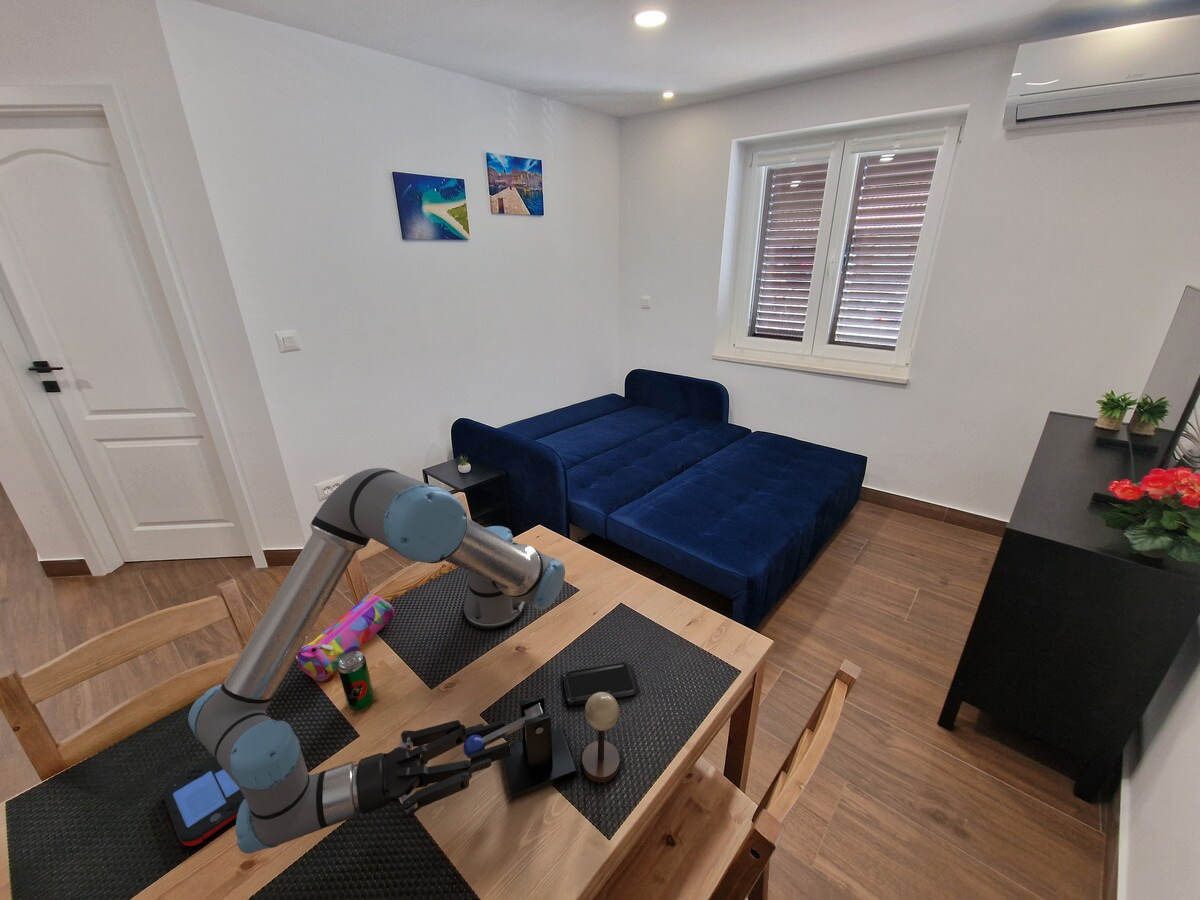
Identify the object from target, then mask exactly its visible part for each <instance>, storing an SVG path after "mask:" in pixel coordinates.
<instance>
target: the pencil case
mask: <svg viewBox="0 0 1200 900" xmlns="http://www.w3.org/2000/svg"><path fill="white" fill-rule="evenodd" d="M394 615H395V609H394V607H393V605H392V604H391V603H390V602H388V601H386V600H385V599H384V598H381V597H380V596H379V595H375V594H373V593H368V594H366V595H365V596H364V597H363V598H362V600H361V601H359V602H358V603H356V604H355V605H354V606H353V607H351V608H350V609H349V610H347V612H346V613H344V614H343V615H341V617H339V618H338V619H337V620H336V621H335V622H333V623H332V624H331V625H329V626H328V627H327V628H326V629H325V630H324V631H322V632H321V633H320V634H319V635H318V636H317V637H316V638H315V639H314V640H312V641H311V642H309V643H308V644H307V645H305V646H302V647H301V649H300V651H299V653H298V654H297V656H296V660H297V665H298V667H299V668H300V670H301V671H302V672H303V673H305V674H306V675H308V676H309V677H311V678H313V679H315V680H317V681H319V682H325V681H327V680H328V679H330V677H331V676H332V675H333V674H334V673H335V672H336V671H338V665H339V661H340V659H341V658H342V657H343V656H344V655H345V654H347V653H350V652H353V651H358V652H359V651H360V650H361V648H363V647H364V646H365V644H366V643H367V642H368V641H370V640H371V639H373V638H374V637H375V635H377V633H378V632H380V631H382V630H383V629H384V627H385V626H386V625H388V624H389V623H390V622H391V621H392V620H393V618H394Z"/></svg>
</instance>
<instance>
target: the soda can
mask: <svg viewBox="0 0 1200 900" xmlns="http://www.w3.org/2000/svg"><path fill="white" fill-rule="evenodd" d="M337 671H338V675H339V679H340V682H341V686H342V689H343V693H344V697H345V700H346V704H347V707H348V709H349V710H351V711H355V712H359V711H364V710H365V709H367V708H368V707H370V705H371V704H372V703H373V702H374V700H375V692H374V687H373V684H372V679H371V675H370V670H369V666H368V663H367V659H366V657H365V655H363V653H362V652H360V651H359V650H358V651H353V652H350V653H347V654H345V655H344V656H343V657H342V658H341V659H340V661H339V665H338V669H337Z"/></svg>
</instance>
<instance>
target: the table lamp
mask: <svg viewBox="0 0 1200 900" xmlns="http://www.w3.org/2000/svg"><path fill="white" fill-rule="evenodd" d="M584 716H585V719H586V722H587V723H588V725H589V726H590V727H591V728H592V729H594V730H596V731H597V740H594V741H592V742H590V743H589V744H587V745H586V747H584V750H583V751H582V755H581V768H582V771H583V773H584V775H585V776H586V777H587V778H588V779H589V780H590V781H593V782H595V783H601V784H602V783H607V782H610V781H611V780H613V779H614V778H615V777H616V775H617V774H618V772H619V769H620V761H621V760H620V759H621V757H620V753H619V750H618V749H617V747H616V746H615V745H614V744H613V743H611V742H609V741H607V740H605V739H606V738H605V737H606V731H609V730H610V729H612V728H613V727H614V726H615V725H616V724H617V722H618V720H619V716H620V706H619V703H618V701H617V699H616V698H614V697H613V696H612V695H610V694H609V693H606V692H598V693H595V694H593V695H592V696H591V697H590V698H589V699H588V701H587V703H585V707H584Z"/></svg>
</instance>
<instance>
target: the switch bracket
mask: <svg viewBox="0 0 1200 900" xmlns="http://www.w3.org/2000/svg"><path fill="white" fill-rule="evenodd" d="M545 701H546V698H545V695H544V693H541V694H537V695H534V696H531V697H528V698H525V699H522V700H519V701H518V704H519V707H518V708H519V719H520V718H522V717H524V716H526V715H525V710H526V709H528V708H530V707H532V706H534V705H536V704H538V703H539V704H540V706H541V708H542V711H543V714H542V715H539V716H536V717H533V718H530V719H527V720H525V721H524V722H525V726H524V727H522V728H520V733H521V741H519V742H516V743H515V742H514V743H513V744H510V753H511V756H508V757H505V758H503V759H501V761H502V766H503V770H504V774H505V779H506V785H507V790H508V793H509V794H508V795H509V798H510V801H515V800H516V799H519V798H522V797H525V796H526V795H527V796H528V795H530V794H532V793H535V792H538V791H540V790H542V789H545V788H547V787H551V786H554V785H555V784H559V783H561V782H563V781H566V780H568V779H570V778H574V777H576V776H577V769H576V766H575V763H574V760H573V758H572V754H571V752H570V749H569V746H568V743H567V740H566V737H565V734H564V731H563V728H562V727H559V728H556V729H553V730H552V716H551V713H550V711H549V712H546V702H545Z"/></svg>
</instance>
